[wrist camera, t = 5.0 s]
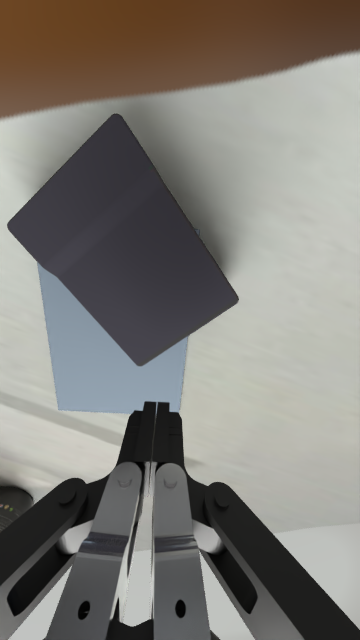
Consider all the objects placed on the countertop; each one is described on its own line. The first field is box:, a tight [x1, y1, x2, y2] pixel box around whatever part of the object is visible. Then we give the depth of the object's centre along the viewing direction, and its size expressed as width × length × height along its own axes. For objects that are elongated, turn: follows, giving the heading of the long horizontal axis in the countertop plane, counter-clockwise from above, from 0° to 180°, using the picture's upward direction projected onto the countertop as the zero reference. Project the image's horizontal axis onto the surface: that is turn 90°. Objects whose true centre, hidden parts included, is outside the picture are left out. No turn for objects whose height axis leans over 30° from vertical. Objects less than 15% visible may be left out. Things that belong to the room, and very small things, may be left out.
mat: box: [37, 229, 200, 414], centre depth 22 cm, size 15×22×1 cm
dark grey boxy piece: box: [7, 114, 239, 367], centre depth 17 cm, size 11×4×15 cm
